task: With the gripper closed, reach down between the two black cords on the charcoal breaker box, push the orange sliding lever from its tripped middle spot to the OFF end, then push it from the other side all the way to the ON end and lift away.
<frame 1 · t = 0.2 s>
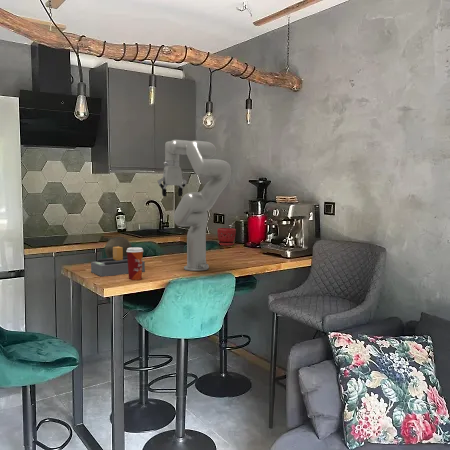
hand: (172, 196, 250), 37 cm above the breakfast bar, tool pointing down, fingers open, 9 cm apart
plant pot: (226, 245, 329), on the breakfast bar
breaker box: (118, 271, 226), on the breakfast bar
cantaloupe: (119, 265, 245), on the breakfast bar
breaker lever: (117, 255, 225), point 8 cm above the breakfast bar, slide at 0.0 cm
paper cup: (135, 279, 209), on the breakfast bar
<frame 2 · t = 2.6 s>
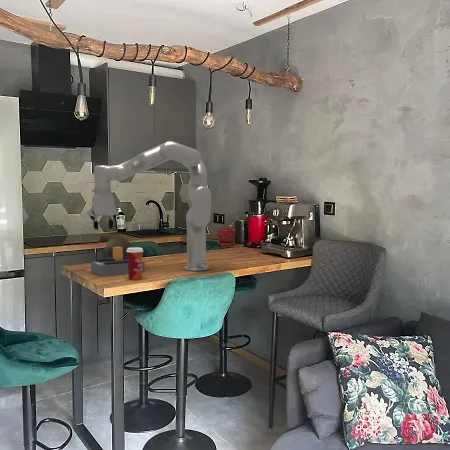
hand: (103, 228, 220), 22 cm above the breakfast bar, tool pointing down, fingers open, 6 cm apart
nothing on the breakfast bar moved.
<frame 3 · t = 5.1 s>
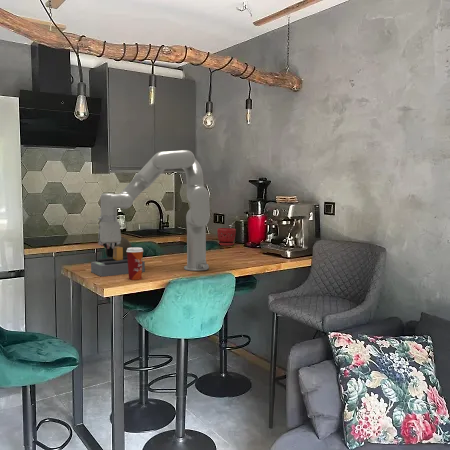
hand: (109, 256, 222), 8 cm above the breakfast bar, tool pointing down, fingers closed
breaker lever: (117, 255, 225), point 8 cm above the breakfast bar, slide at -0.1 cm, touching gripper
everything else where it was.
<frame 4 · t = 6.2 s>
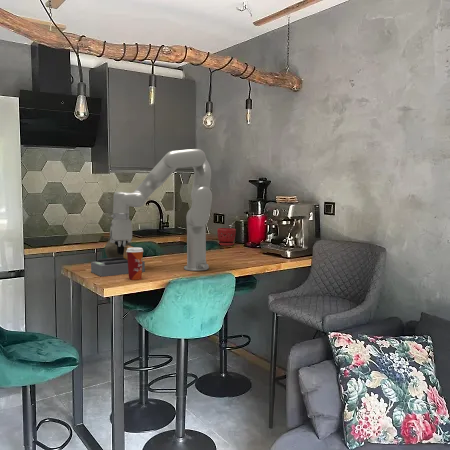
hand: (120, 254, 226), 9 cm above the breakfast bar, tool pointing down, fingers closed
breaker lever: (128, 254, 228), point 8 cm above the breakfast bar, slide at -5.6 cm, touching gripper
everything else where it was.
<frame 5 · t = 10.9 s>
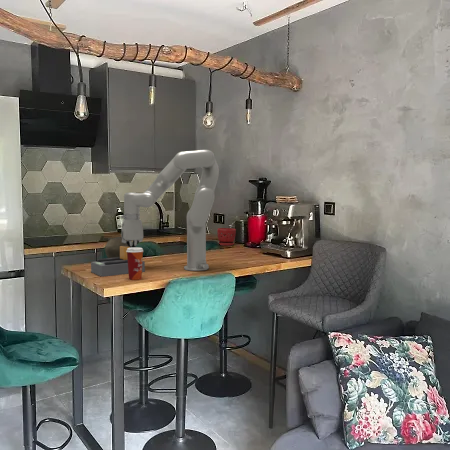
hand: (132, 253, 229), 8 cm above the breakfast bar, tool pointing down, fingers closed
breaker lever: (124, 254, 227), point 8 cm above the breakfast bar, slide at -3.6 cm, touching gripper
everything else where it was.
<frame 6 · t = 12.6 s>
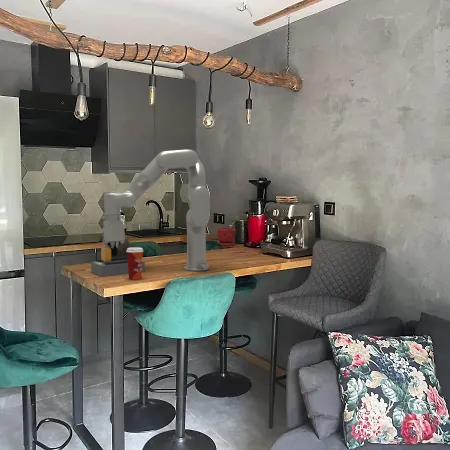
hand: (114, 255, 224), 8 cm above the breakfast bar, tool pointing down, fingers closed
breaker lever: (106, 256, 221), point 8 cm above the breakfast bar, slide at 5.9 cm, touching gripper
everything else where it was.
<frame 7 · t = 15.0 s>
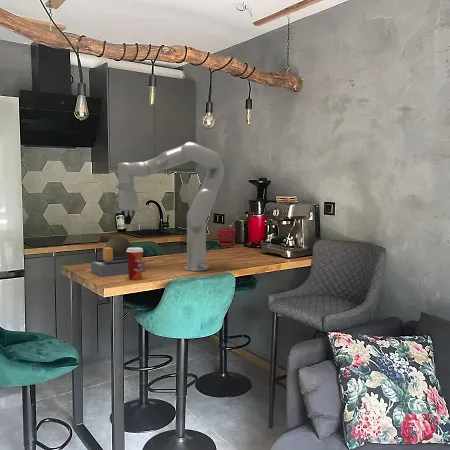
hand: (127, 224, 230), 23 cm above the breakfast bar, tool pointing down, fingers closed
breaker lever: (107, 256, 222), point 8 cm above the breakfast bar, slide at 5.1 cm
everything else where it was.
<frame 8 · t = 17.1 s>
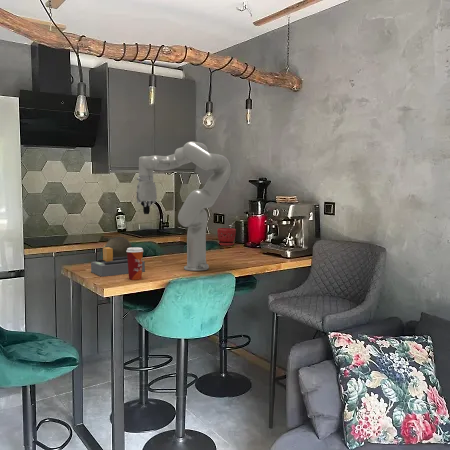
hand: (146, 213, 247), 27 cm above the breakfast bar, tool pointing down, fingers closed
nothing on the breakfast bar moved.
at the end: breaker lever slide at 5.1 cm; cantaloupe moved 0.2 cm from its start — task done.
